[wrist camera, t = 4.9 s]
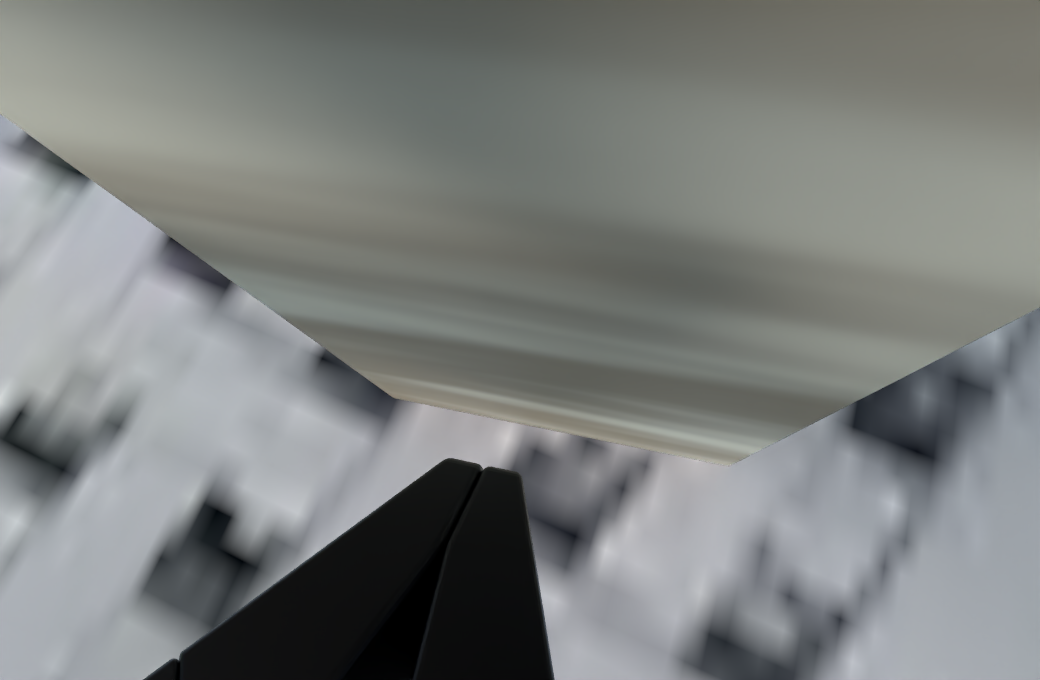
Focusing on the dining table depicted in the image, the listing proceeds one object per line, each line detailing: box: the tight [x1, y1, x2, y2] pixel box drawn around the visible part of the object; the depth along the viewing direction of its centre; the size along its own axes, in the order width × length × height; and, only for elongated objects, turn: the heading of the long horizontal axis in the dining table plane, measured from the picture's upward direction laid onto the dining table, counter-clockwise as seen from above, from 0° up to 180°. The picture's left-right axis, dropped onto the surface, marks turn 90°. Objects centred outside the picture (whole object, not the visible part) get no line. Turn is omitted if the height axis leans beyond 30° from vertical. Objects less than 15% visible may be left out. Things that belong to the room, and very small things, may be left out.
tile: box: [0, 0, 1040, 466], centre depth 10 cm, size 3×8×15 cm, turn 78°
